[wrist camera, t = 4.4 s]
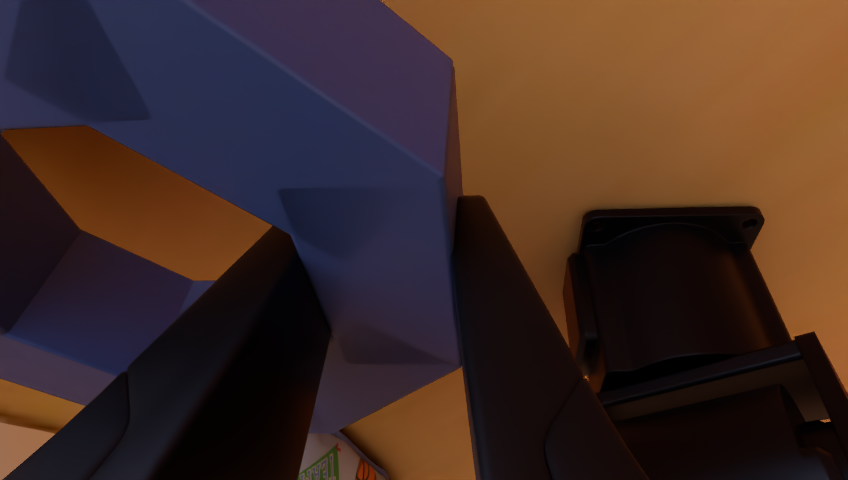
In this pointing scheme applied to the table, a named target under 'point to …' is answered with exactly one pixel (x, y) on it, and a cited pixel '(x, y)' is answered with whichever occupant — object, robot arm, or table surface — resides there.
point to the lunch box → (336, 460)
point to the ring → (237, 180)
